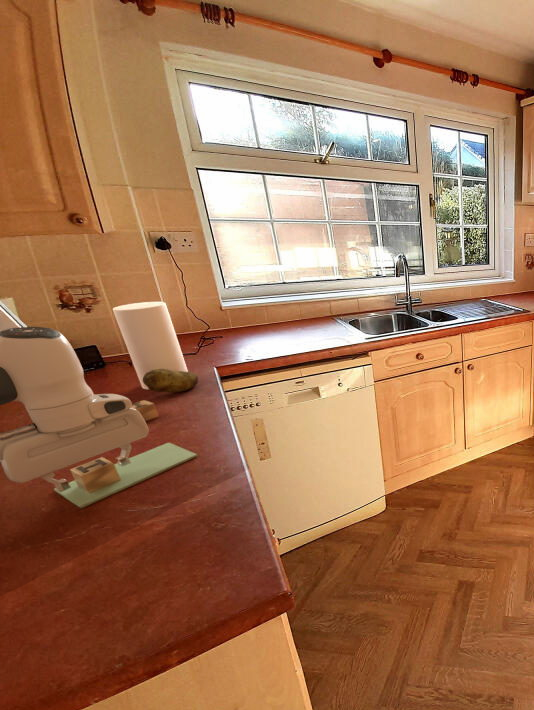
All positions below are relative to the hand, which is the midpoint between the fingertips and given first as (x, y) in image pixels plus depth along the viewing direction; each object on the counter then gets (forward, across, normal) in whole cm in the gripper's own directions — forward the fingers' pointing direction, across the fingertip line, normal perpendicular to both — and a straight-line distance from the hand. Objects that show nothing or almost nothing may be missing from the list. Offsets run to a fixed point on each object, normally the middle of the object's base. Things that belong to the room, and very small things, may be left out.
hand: (96, 476), depth 83 cm
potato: (+2, +33, +41) cm, 53 cm away
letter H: (+2, 0, 0) cm, 2 cm away
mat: (+2, +5, 0) cm, 5 cm away
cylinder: (+2, +36, +53) cm, 64 cm away
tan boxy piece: (+2, +19, +28) cm, 34 cm away
